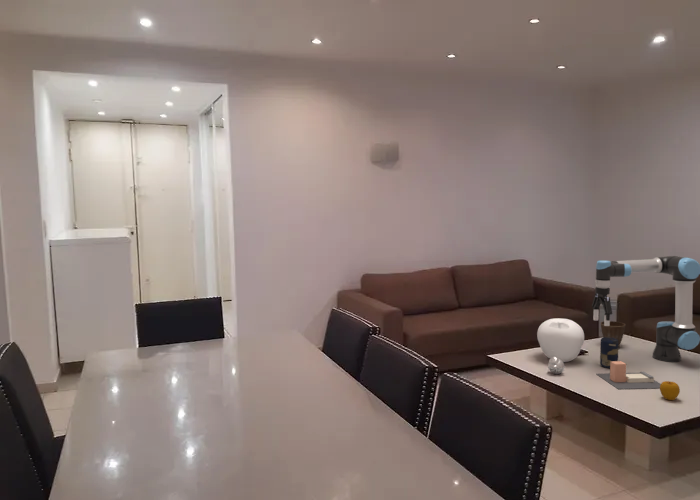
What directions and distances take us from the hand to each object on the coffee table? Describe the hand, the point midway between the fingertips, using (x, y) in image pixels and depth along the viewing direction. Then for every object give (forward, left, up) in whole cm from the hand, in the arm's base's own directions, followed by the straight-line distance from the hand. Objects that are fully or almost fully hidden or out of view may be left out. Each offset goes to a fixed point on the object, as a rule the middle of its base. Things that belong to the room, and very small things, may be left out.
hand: (601, 323), depth 304 cm
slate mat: (-6, +22, -27) cm, 35 cm away
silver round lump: (+29, +7, -28) cm, 41 cm away
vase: (+16, -18, -28) cm, 37 cm away
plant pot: (-30, -43, -28) cm, 60 cm away
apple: (-11, +47, -28) cm, 56 cm away
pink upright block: (+1, +22, -27) cm, 35 cm away
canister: (-7, -3, -28) cm, 29 cm away
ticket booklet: (-10, +22, -27) cm, 36 cm away
